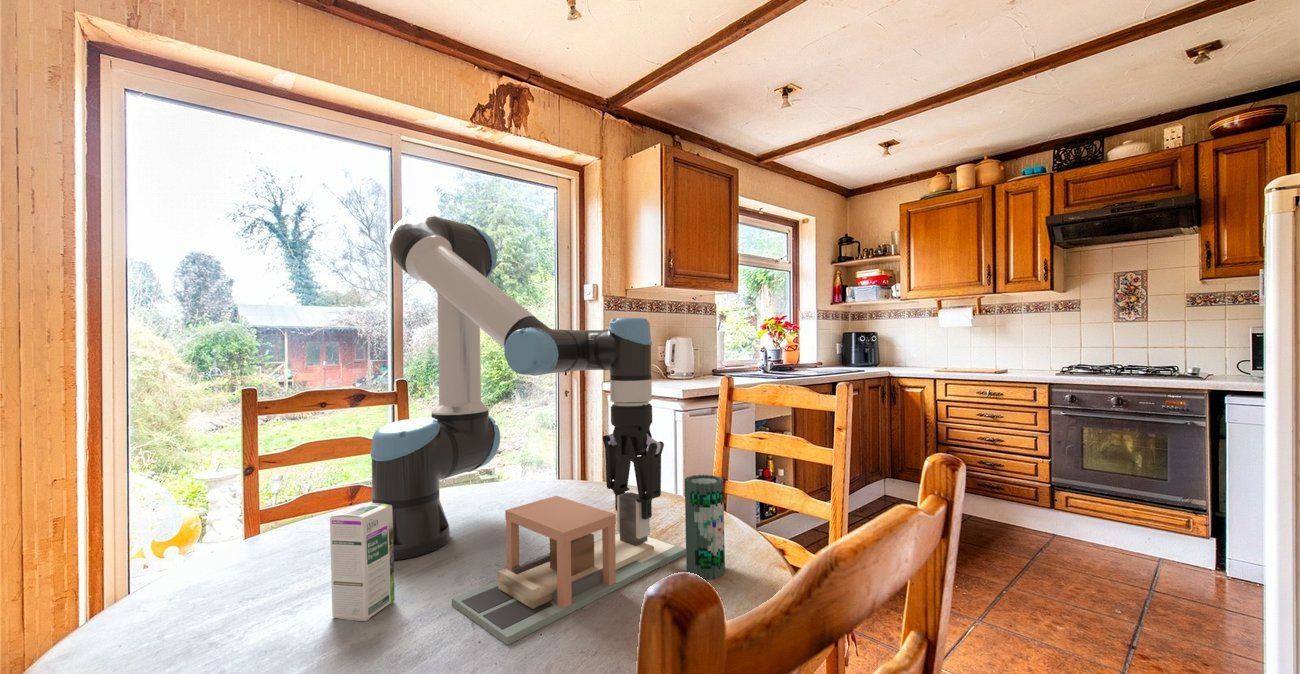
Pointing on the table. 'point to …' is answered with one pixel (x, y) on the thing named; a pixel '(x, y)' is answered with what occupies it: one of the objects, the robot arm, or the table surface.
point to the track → (562, 525)
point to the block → (576, 554)
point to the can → (704, 526)
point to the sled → (542, 579)
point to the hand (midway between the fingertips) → (633, 532)
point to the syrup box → (362, 561)
